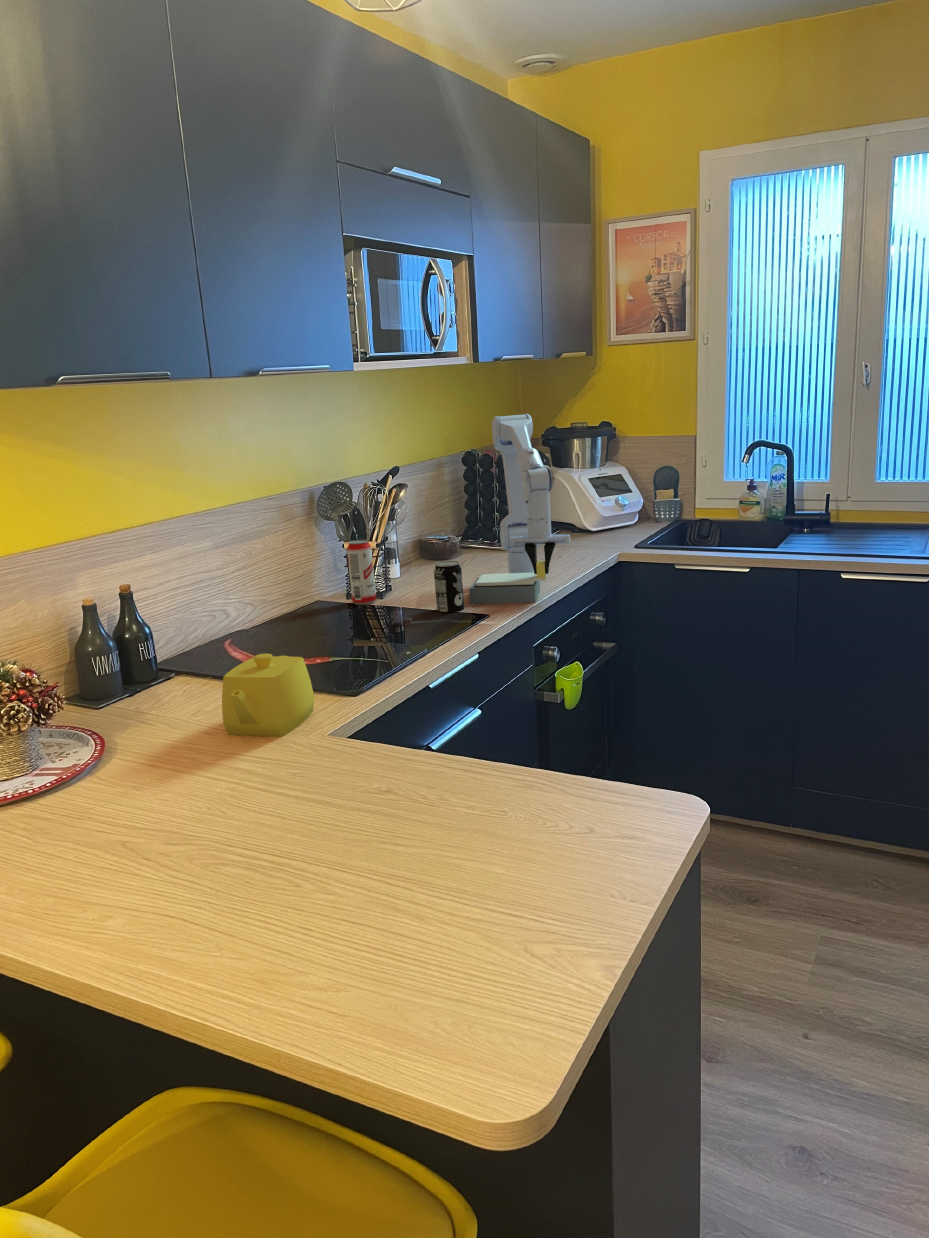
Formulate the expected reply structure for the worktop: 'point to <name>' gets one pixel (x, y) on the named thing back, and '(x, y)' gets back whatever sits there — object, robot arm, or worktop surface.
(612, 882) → the worktop surface
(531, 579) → the lid
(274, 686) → the teapot
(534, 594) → the tub
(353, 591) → the beer can
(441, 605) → the beverage can
